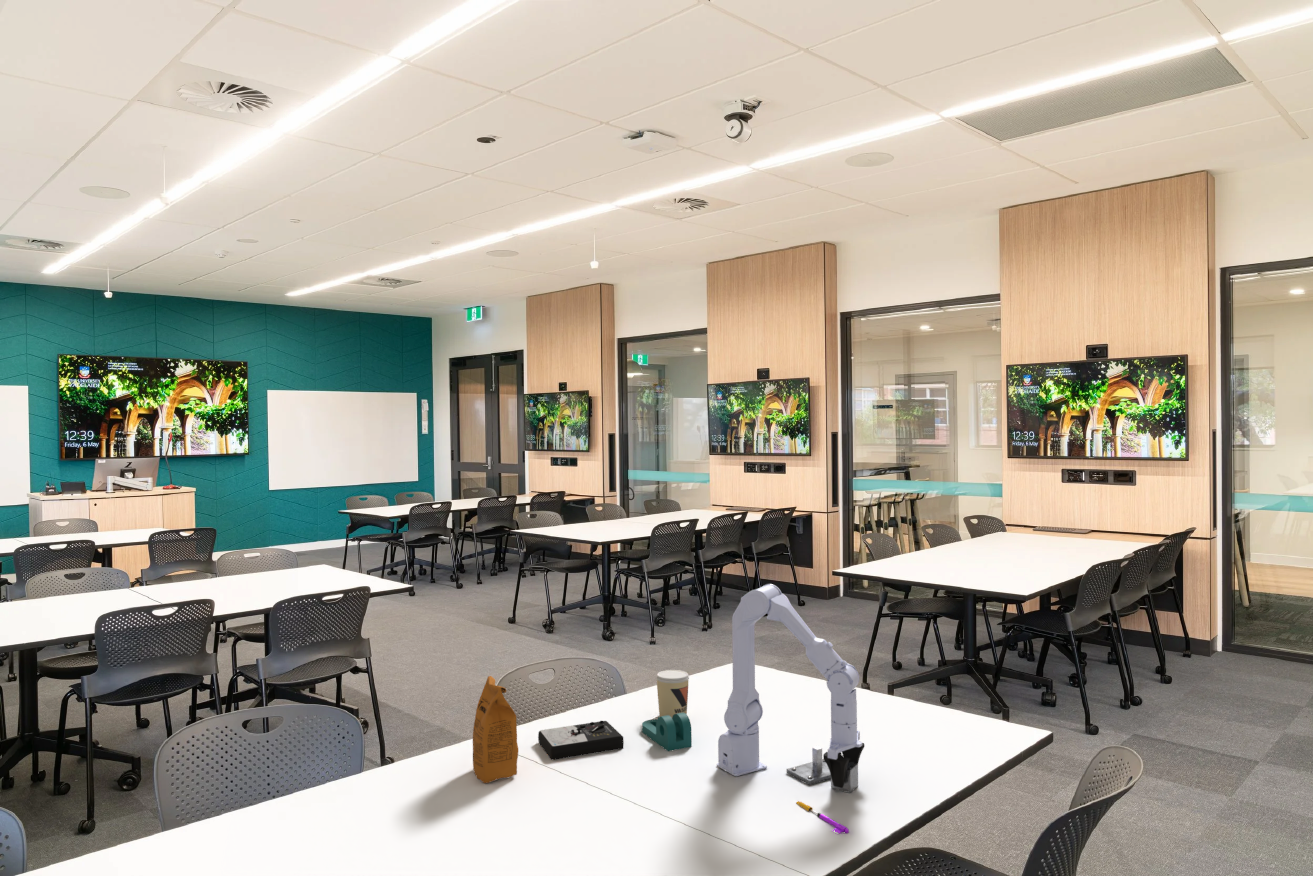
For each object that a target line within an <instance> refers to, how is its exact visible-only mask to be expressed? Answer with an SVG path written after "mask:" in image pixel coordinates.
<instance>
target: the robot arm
mask: <svg viewBox="0 0 1313 876" xmlns="http://www.w3.org/2000/svg"><path fill="white" fill-rule="evenodd" d="M766 614H767V616H766ZM764 616H766V620H769V621H773V622H774V621H775V622H780V623H781V624H783V625H784V626H785V627H786V628H787V630H788V631H790V633H791V634H792V635H793V636H794V637H795V638H796V639H797V640H798V641H799V642H800V643H801V644H802V645H803V646H804V647H805V656H806V657H807V658H808V660H809V661H810V662H811V663H812V665H813V666H814V667H815V668H816V670H818V672H819V673H820V674H821V675H822V676H823V677H824V678H825V679H826V680H827V681H826V686H827V687H826V688H827V689H828V690H829V692H830V738H829V740H830V741H829V747H828V749H827V751H826V752H824V753H822V759H824V760H825V762H826V764H827V766H828V768H829V771H830V774H831V778H832V782H833V785H834V786H835V787H840V788H843V786H844V782H845V772H846V768H847V765H848V762H853V763H858V764H859V761H860V758H861V755H862V753H863V750H864V749H865V743H864V742H862V741H860V740H861V736H860V735H861V731H860V730H858V710H857V709H858V703H857V701H858V700H857V689H856V687H857V686H858V685H859V683H860V674H859V672H858V670H857V668H856V667H855V666H854V665H853V664H850V663H848V662H847V661H846V660H845V659H842V657H841V656H840V655H839V654H838V652H837V651H835V650H834V648H833V647H834V644H833V643H832V642H831V641H828V642H827V640H826V639H825V638H821V637H820V638H819V637H817V636H816V635H815V634H814V632H813V631H812V630H811V629H810V627H809V626H808V625H807V623H806V622H805V621H804V619H803V618H802V617H801V616H800V615H799V613H798V612H797V610H796V609H795V607H793V605H792V604H791V601H790V600H789V598H788V596H786V594H784V593H782V591H781V589H780V588H779V587H778V586H777V585H775V584H772V583H766V584H764V585H763V586H761V587H759V588H755V589H752V590H749V591H748V592H747V593H746V594H744V595H743V596H741V597H740V602H739V604H738V605H737V607H736V609H735V610H734V612H733V614H732V617H731V618H732V619H731V620H732V621H731V622H732V623H731V625H732V628H731V629H732V630H731V632H732V633H731V634H732V637H731V638H732V691H731V693H730V696H729V697H728V700H727V707H726V710H725V713H724V715H723V720H724V724H725V727H727V729H728V730H727V731H726V732H724V733H722V734H721V735H719V737H718V741H717V743H718V744H717V749H718V751H717V752H718V757H717V758H718V759H717V760H718V761H717V763H716V766H717V767H718V768H720V769H722V770H724V771H725V772H727V773H728V774H730V775H732V776H734V777H739V776H742V775H743V776H744V775H747V774H750V773H754V772H758V771H761V770H764V769H767V768H768V766H767V765H766V764H764V763H762V762H761V761H760V726H759V721H760V720H761V719H762V718H763V717H762V716H763V713H764V709H763V705H762V704H761V701H760V693H759V692H758V691H757V689H756V661H755V659H756V657H755V656H756V654H755V653H756V650H755V649H756V647H755V645H756V644H755V643H756V642H755V641H756V639H755V638H756V637H755V635H756V634H755V633H756V632H755V631H756V629H755V627H756V626H755V624H756V623H757V622H758V621H760V620H761V619H762V618H763V617H764Z"/></svg>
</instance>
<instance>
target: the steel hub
mask: <svg viewBox="0 0 1313 876" xmlns="http://www.w3.org/2000/svg"><path fill="white" fill-rule="evenodd" d="M858 786H859V762H858V763H853V762H848V765H847V768H846V772H845V782H844V786H843V788H840V787H835V786H834V785H833V782H832V778H831V779H830V789H833V790H838V791H841V792H845V793H848V794H851V793H853V791H855V789H857V787H858Z"/></svg>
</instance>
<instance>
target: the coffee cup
mask: <svg viewBox="0 0 1313 876" xmlns="http://www.w3.org/2000/svg"><path fill="white" fill-rule="evenodd" d="M655 677H656V678H655V679H656V689H657V704H658V712H659V713H658V714H659V717H661V716H666V715H669V716H670V717H671V718H672V717H673V715H674V714H678V713H686V714H687V713H688V703H689V702H688V699H689V698H688V697H689V696H688V695H689V680H690V676H689V673H688V672H687V671H684V670H679V669H667V670H662V671H659V672H657V675H656V676H655ZM687 715H688V714H687Z"/></svg>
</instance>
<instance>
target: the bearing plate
mask: <svg viewBox="0 0 1313 876" xmlns="http://www.w3.org/2000/svg"><path fill="white" fill-rule="evenodd" d="M811 750H812V751H811V752H812V761H811V762H807V763H803V764H799V765H796V766H792V767H789V768H786V774H788V775H789V776H791V777H793V778H795V779H797V780H799V781H800V782H803V783H805V784H806V785H808V786H811V785H815V784H818V783H822V782H825V781H828V780H831V774H830V771H829V768H828V766H827V764H826V762H825V760H824V758H823V748H822V747H820V746H819V745H816V746H812V749H811Z"/></svg>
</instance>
